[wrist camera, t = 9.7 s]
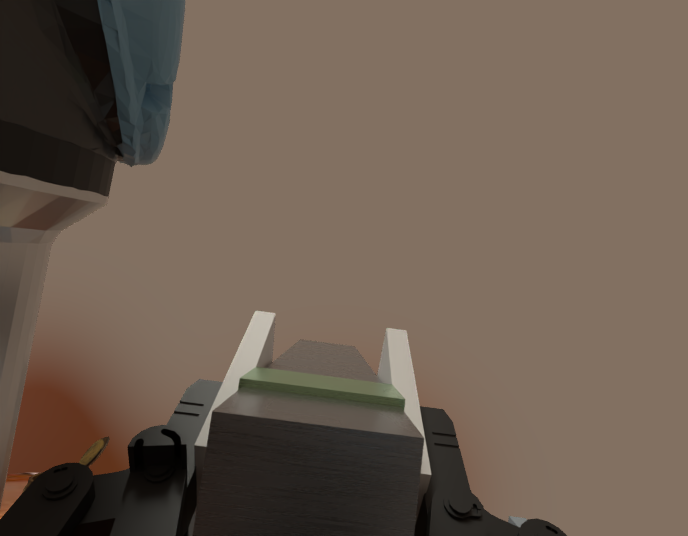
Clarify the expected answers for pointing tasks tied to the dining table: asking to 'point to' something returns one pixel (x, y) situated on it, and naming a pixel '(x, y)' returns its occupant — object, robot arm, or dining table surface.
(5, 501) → the dining table surface
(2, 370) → the robot arm
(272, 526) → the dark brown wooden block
